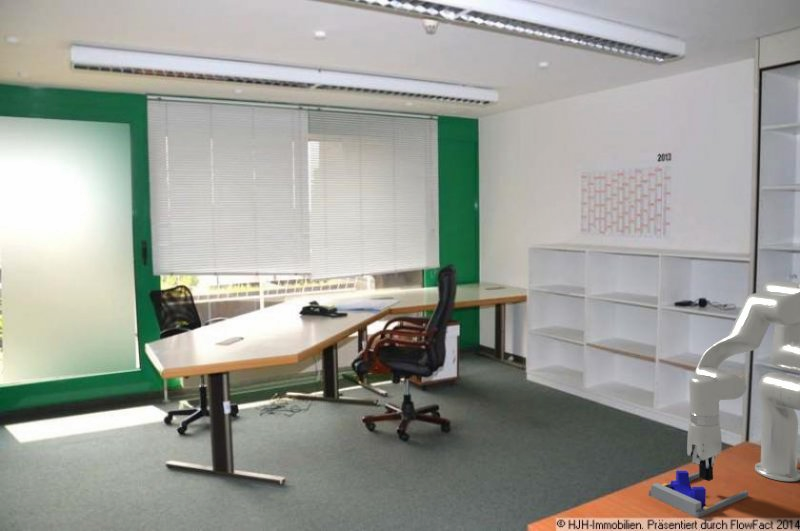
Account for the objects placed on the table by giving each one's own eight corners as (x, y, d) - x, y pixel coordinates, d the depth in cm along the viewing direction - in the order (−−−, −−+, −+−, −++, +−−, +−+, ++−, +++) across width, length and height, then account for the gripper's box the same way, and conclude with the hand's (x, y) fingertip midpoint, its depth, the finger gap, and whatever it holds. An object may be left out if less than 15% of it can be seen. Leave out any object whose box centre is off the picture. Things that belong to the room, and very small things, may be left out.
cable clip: (670, 490, 178) (670, 470, 178) (686, 490, 178) (686, 470, 177) (688, 510, 166) (689, 489, 166) (705, 510, 166) (705, 489, 165)
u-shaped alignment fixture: (698, 476, 186) (698, 465, 186) (748, 496, 172) (748, 484, 172) (648, 495, 175) (648, 483, 175) (698, 518, 161) (698, 505, 161)
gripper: (708, 408, 180) (709, 467, 182) (676, 421, 173) (678, 481, 175) (732, 415, 173) (734, 476, 175) (700, 428, 166) (702, 491, 168)
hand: (706, 478), depth 175 cm, fingers closed
